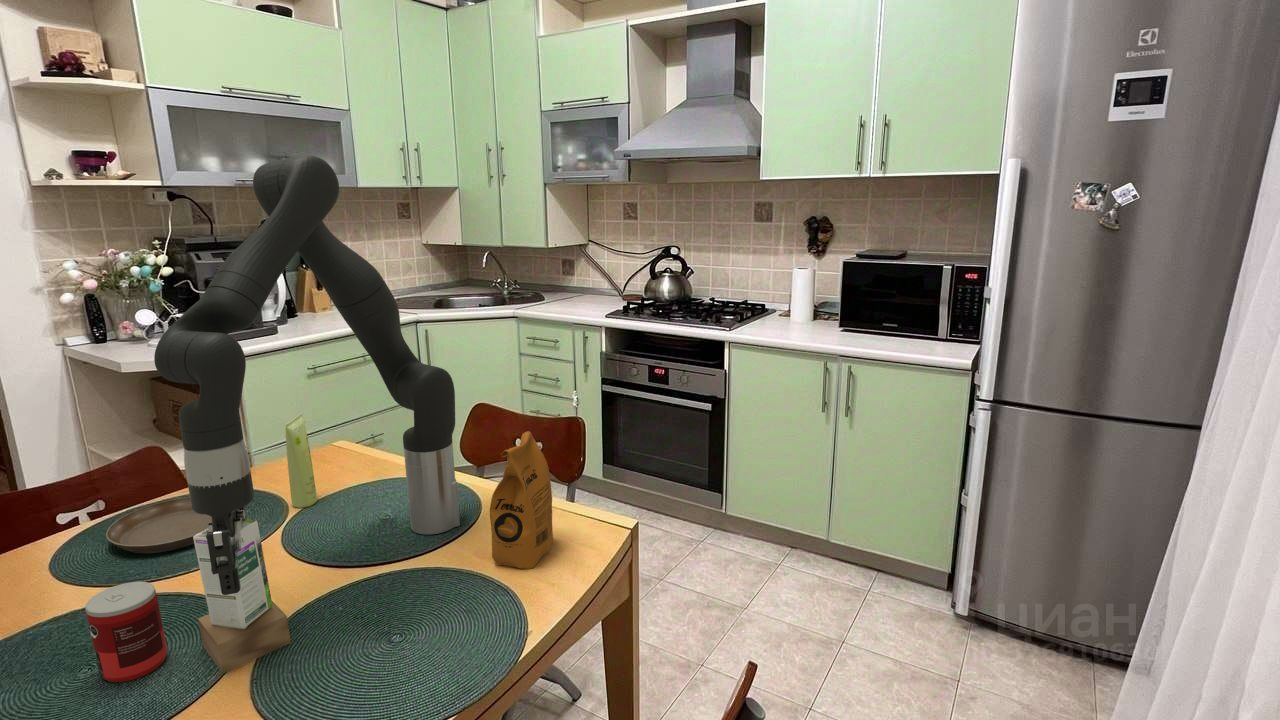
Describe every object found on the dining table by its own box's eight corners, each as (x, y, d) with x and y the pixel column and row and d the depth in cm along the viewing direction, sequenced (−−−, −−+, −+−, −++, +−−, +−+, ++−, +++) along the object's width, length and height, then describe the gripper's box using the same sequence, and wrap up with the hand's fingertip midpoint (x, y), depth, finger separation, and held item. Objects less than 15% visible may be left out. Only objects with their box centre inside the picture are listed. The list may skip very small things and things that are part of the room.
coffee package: (483, 565, 120) (475, 450, 115) (514, 533, 132) (508, 427, 127) (534, 574, 118) (528, 456, 113) (561, 540, 129) (557, 432, 124)
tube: (322, 504, 145) (311, 418, 140) (297, 511, 142) (285, 424, 137) (312, 496, 149) (302, 412, 144) (288, 503, 146) (276, 417, 141)
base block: (268, 620, 106) (263, 592, 105) (291, 645, 100) (286, 615, 99) (203, 648, 99) (197, 618, 98) (223, 676, 93) (218, 645, 92)
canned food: (123, 649, 98) (108, 582, 96) (180, 646, 99) (167, 579, 97) (85, 685, 91) (69, 614, 88) (147, 682, 92) (133, 611, 89)
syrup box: (244, 630, 95) (228, 538, 92) (209, 625, 96) (191, 534, 93) (273, 606, 101) (259, 518, 97) (239, 602, 102) (224, 515, 98)
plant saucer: (257, 522, 137) (254, 507, 137) (146, 571, 120) (143, 554, 119) (197, 502, 147) (195, 488, 146) (86, 544, 129) (83, 529, 128)
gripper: (242, 488, 88) (259, 597, 92) (256, 451, 101) (270, 548, 105) (175, 498, 85) (195, 610, 89) (198, 459, 98) (215, 558, 102)
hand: (236, 577), depth 97 cm, fingers open, 8 cm apart
